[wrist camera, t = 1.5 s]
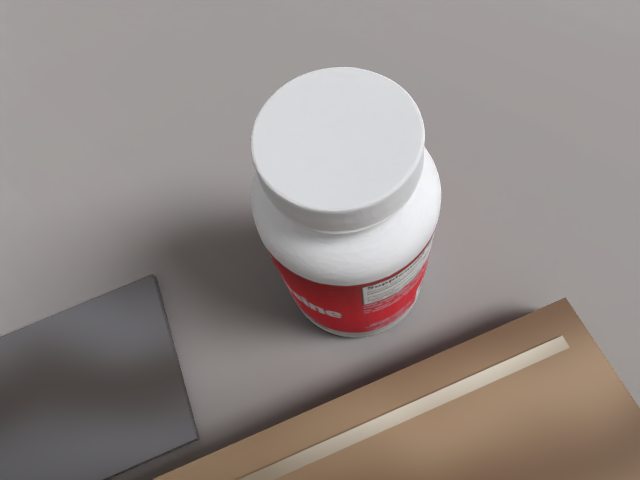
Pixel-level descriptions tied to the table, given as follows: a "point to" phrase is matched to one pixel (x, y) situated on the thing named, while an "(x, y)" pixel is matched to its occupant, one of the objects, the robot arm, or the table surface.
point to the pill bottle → (345, 197)
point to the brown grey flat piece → (320, 422)
